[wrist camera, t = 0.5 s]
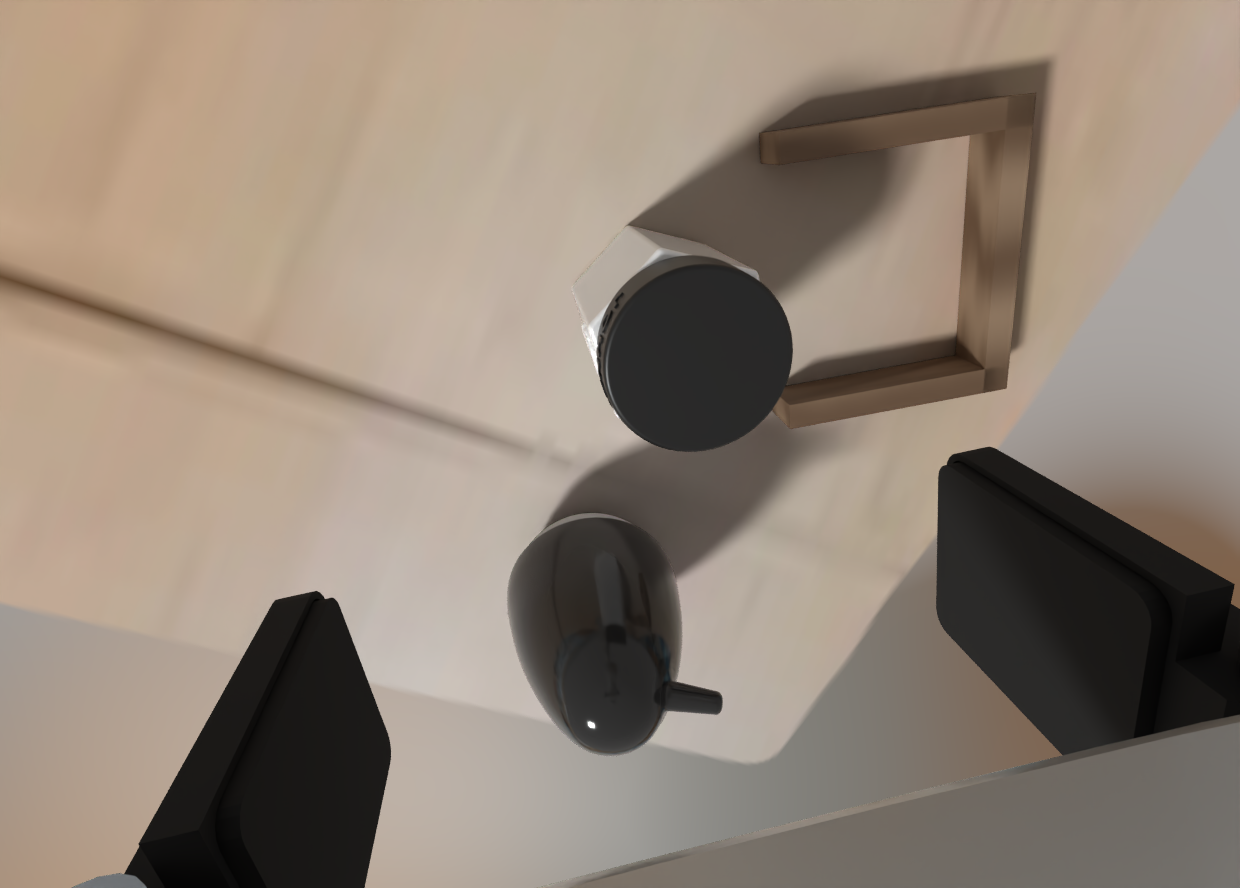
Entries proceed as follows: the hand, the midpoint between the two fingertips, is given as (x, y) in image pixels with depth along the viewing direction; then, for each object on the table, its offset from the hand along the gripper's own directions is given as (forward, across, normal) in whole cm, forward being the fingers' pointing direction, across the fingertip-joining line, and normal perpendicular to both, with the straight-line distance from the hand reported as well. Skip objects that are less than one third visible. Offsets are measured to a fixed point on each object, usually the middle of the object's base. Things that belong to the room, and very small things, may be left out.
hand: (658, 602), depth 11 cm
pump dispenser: (+31, +1, +18) cm, 36 cm away
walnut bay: (+30, -18, +2) cm, 35 cm away
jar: (+31, -5, +2) cm, 31 cm away
